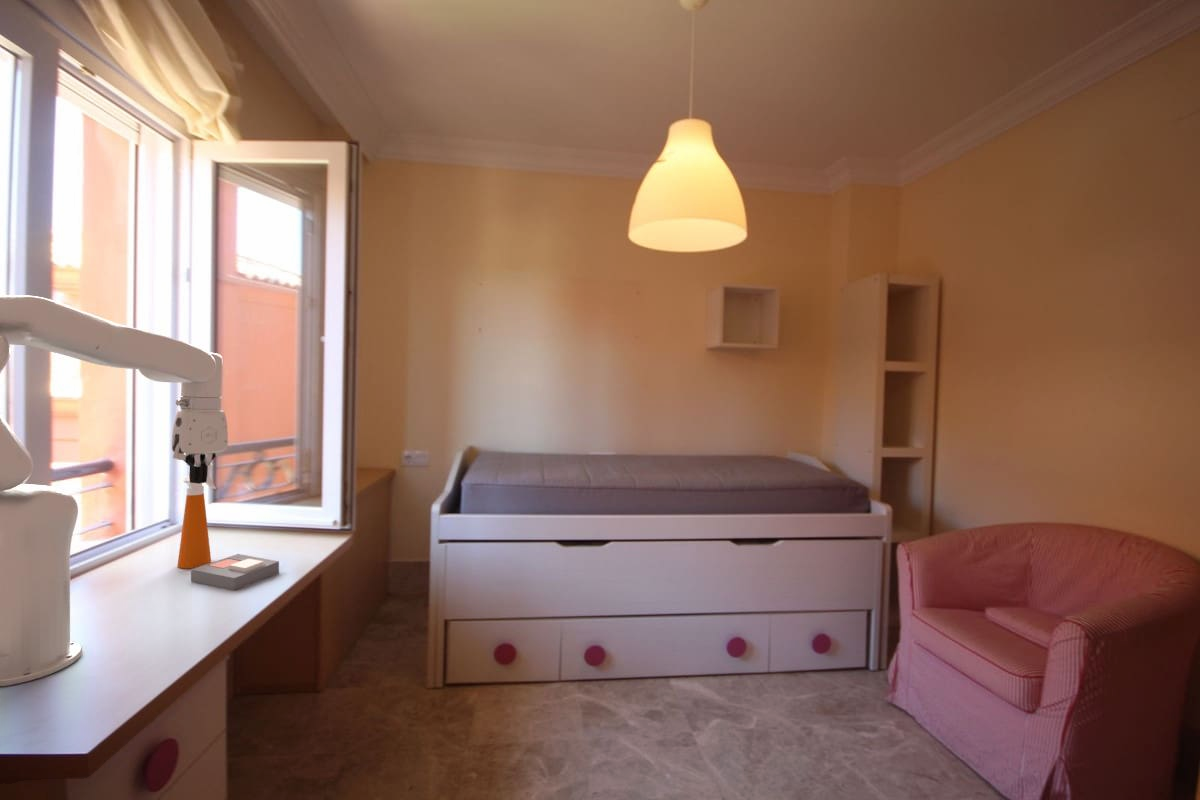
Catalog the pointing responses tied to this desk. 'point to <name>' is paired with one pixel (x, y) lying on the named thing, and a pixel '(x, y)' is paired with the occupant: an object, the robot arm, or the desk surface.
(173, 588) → the desk surface
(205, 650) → the desk surface
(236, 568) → the white key
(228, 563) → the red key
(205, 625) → the desk surface
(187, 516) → the spray bottle
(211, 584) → the key panel
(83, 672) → the desk surface
